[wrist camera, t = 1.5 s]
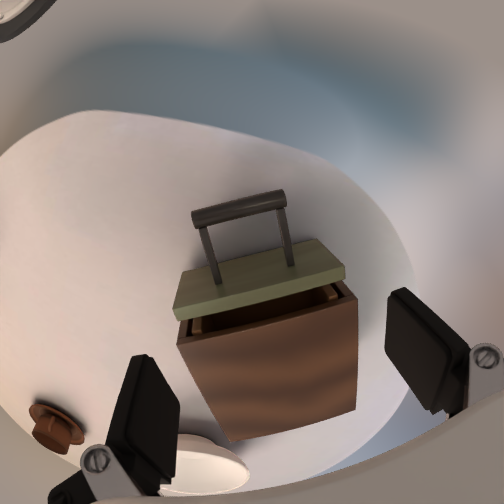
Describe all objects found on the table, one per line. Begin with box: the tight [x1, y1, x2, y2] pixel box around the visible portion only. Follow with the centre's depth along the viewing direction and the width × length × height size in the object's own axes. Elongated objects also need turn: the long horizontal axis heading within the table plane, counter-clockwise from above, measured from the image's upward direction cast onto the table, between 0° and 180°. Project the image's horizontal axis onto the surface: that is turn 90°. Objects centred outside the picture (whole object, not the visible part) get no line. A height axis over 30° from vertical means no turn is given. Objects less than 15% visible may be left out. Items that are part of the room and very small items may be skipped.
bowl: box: [160, 434, 250, 494], centre depth 35 cm, size 20×20×7 cm
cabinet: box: [176, 280, 358, 442], centre depth 27 cm, size 16×15×9 cm
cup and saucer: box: [29, 404, 84, 455], centre depth 32 cm, size 12×12×6 cm
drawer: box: [173, 189, 345, 336], centre depth 25 cm, size 21×13×7 cm, turn 13°
